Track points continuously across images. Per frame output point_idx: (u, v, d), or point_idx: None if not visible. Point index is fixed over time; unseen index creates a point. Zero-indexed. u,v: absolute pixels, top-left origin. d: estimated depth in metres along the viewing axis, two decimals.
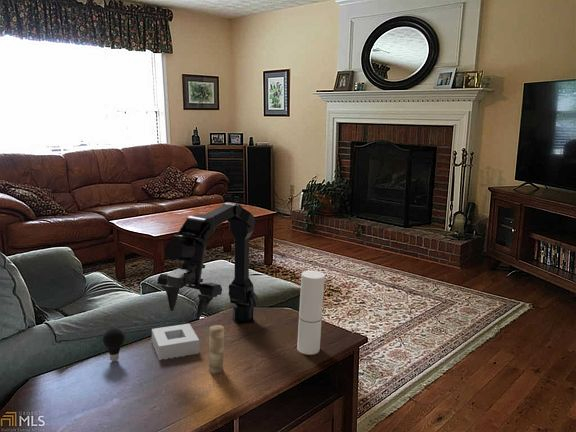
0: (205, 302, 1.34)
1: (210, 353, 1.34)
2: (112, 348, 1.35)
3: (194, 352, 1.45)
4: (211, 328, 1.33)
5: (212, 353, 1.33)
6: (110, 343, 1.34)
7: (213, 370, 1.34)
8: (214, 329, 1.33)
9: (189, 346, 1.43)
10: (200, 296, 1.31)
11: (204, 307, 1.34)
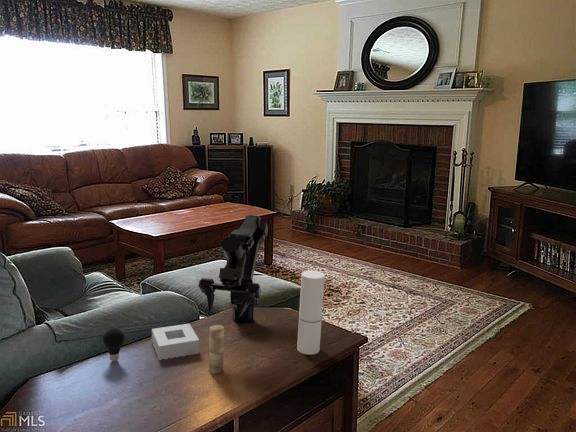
0: (246, 303, 1.44)
1: (210, 353, 1.34)
2: (112, 348, 1.35)
3: (194, 352, 1.45)
4: (211, 328, 1.33)
5: (212, 353, 1.33)
6: (110, 343, 1.34)
7: (213, 370, 1.34)
8: (214, 329, 1.33)
9: (189, 346, 1.43)
10: (246, 292, 1.42)
11: (245, 307, 1.43)
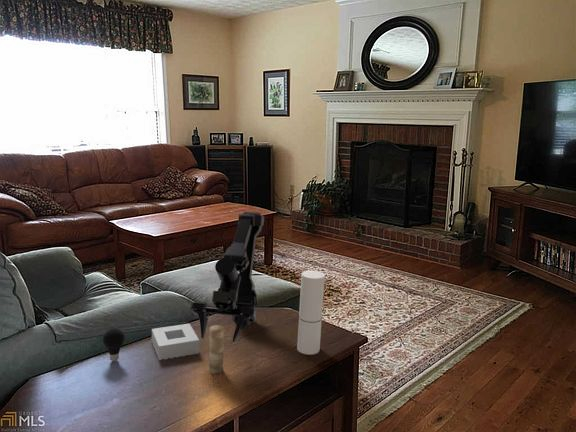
0: (241, 327, 1.38)
1: (210, 353, 1.34)
2: (111, 348, 1.35)
3: (194, 352, 1.45)
4: (211, 328, 1.33)
5: (212, 353, 1.33)
6: (110, 343, 1.34)
7: (213, 370, 1.34)
8: (214, 329, 1.33)
9: (189, 346, 1.43)
10: (241, 316, 1.36)
11: (239, 332, 1.37)
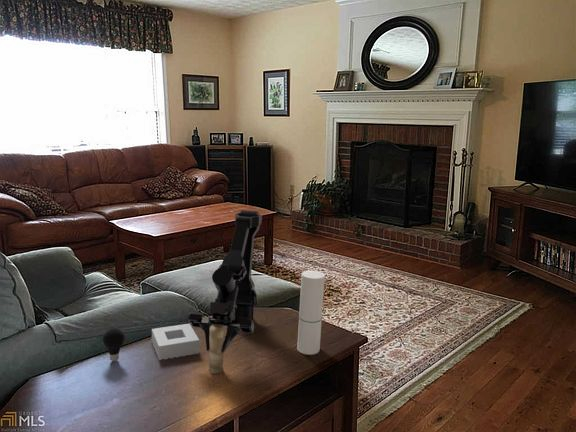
0: (230, 337, 1.36)
1: (210, 353, 1.34)
2: (112, 348, 1.35)
3: (194, 352, 1.45)
4: (211, 328, 1.33)
5: (212, 353, 1.33)
6: (110, 343, 1.34)
7: (213, 370, 1.34)
8: (214, 329, 1.33)
9: (189, 346, 1.43)
10: (230, 327, 1.35)
11: (228, 342, 1.35)
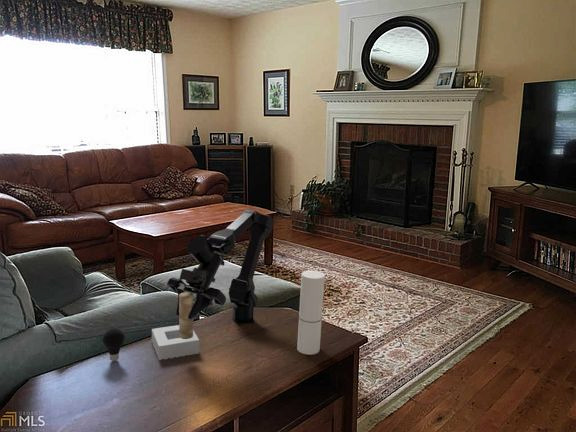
0: (200, 306, 1.40)
1: (179, 318, 1.39)
2: (111, 348, 1.35)
3: (194, 352, 1.45)
4: (181, 294, 1.39)
5: (180, 318, 1.39)
6: (110, 343, 1.34)
7: (181, 335, 1.40)
8: (183, 295, 1.38)
9: (189, 346, 1.43)
10: (198, 295, 1.38)
11: (197, 310, 1.39)
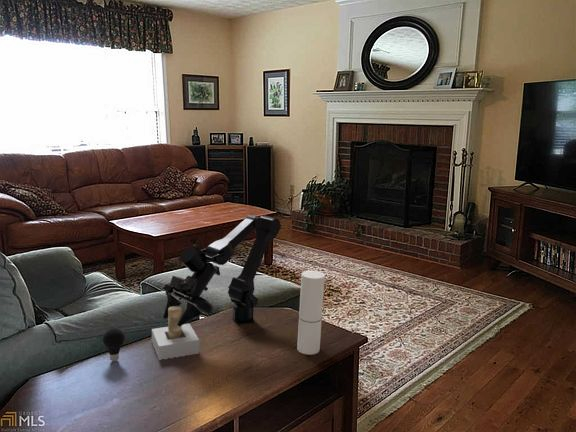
0: (190, 314, 1.44)
1: None
2: (112, 348, 1.35)
3: (194, 352, 1.45)
4: (171, 307, 1.46)
5: (168, 330, 1.46)
6: (110, 343, 1.34)
7: None
8: (171, 309, 1.45)
9: (189, 346, 1.43)
10: (188, 304, 1.43)
11: (187, 319, 1.44)
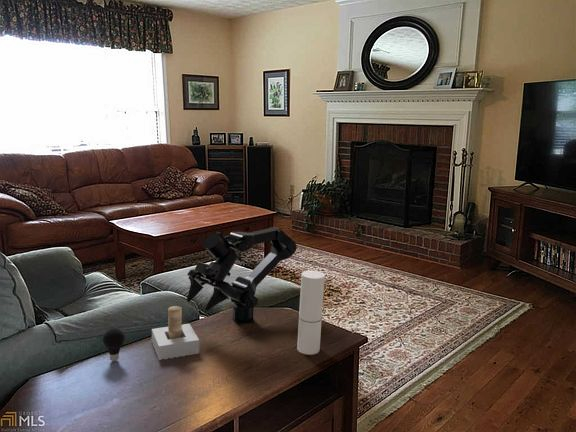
0: (217, 299, 1.50)
1: None
2: (112, 348, 1.35)
3: (194, 352, 1.45)
4: (171, 307, 1.46)
5: (168, 330, 1.46)
6: (110, 343, 1.34)
7: None
8: (171, 309, 1.45)
9: (189, 346, 1.43)
10: (215, 289, 1.49)
11: (214, 303, 1.50)
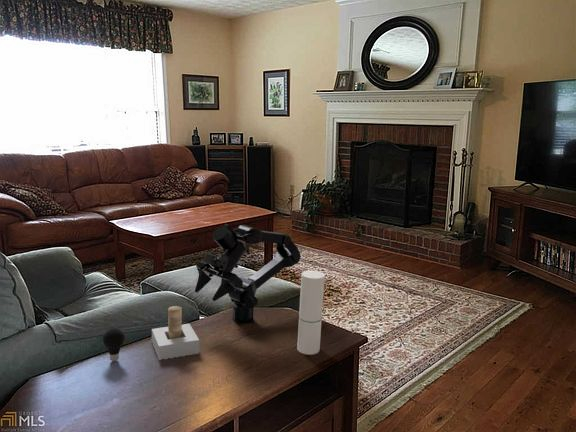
0: (224, 290, 1.53)
1: None
2: (112, 348, 1.35)
3: (194, 352, 1.45)
4: (171, 307, 1.46)
5: (168, 330, 1.46)
6: (110, 343, 1.34)
7: None
8: (171, 309, 1.45)
9: (189, 346, 1.43)
10: (223, 280, 1.51)
11: (222, 294, 1.52)
